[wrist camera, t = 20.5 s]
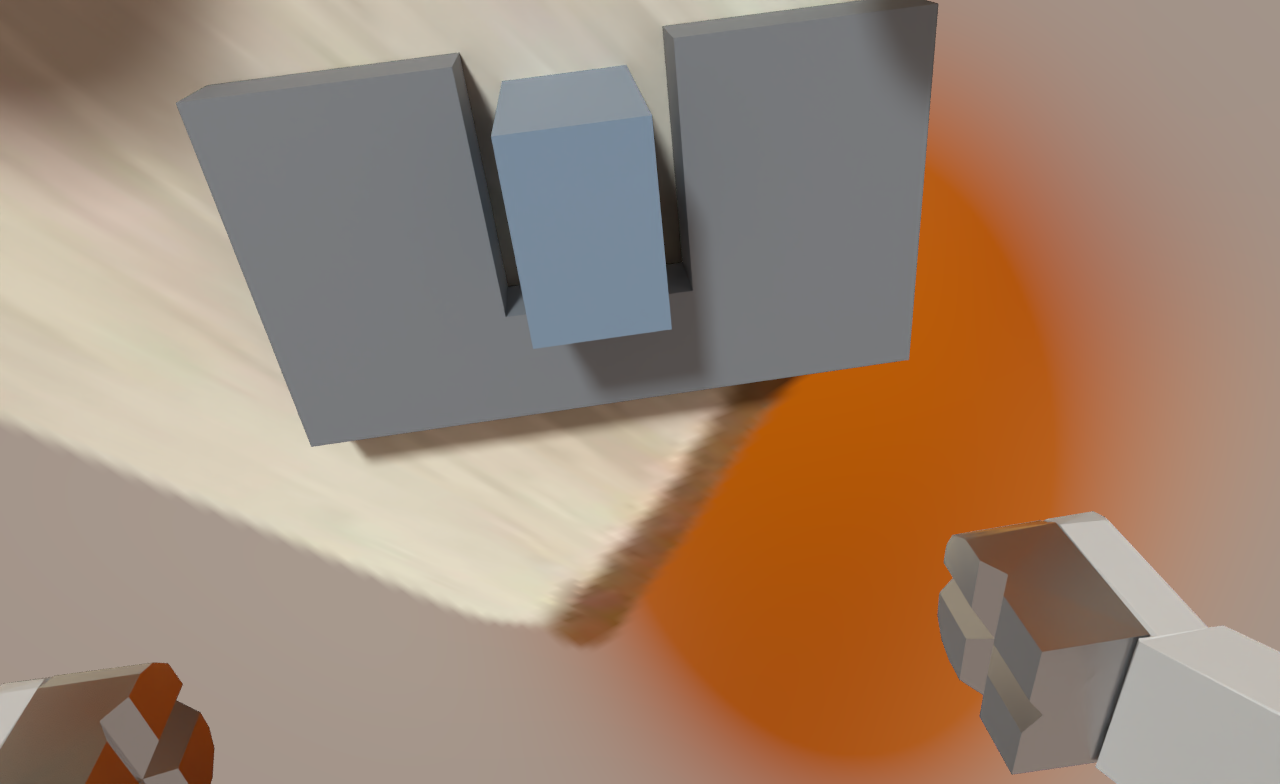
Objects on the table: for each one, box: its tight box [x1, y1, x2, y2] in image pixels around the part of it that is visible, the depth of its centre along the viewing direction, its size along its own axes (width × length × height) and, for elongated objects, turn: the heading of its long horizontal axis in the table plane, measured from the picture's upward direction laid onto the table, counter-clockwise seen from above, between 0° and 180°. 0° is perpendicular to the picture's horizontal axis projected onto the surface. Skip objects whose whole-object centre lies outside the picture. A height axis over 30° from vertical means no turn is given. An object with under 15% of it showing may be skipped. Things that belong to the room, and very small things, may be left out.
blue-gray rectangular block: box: [491, 65, 672, 349], centre depth 25 cm, size 4×6×7 cm, turn 6°
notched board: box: [176, 0, 938, 447], centre depth 27 cm, size 22×12×2 cm, turn 96°
